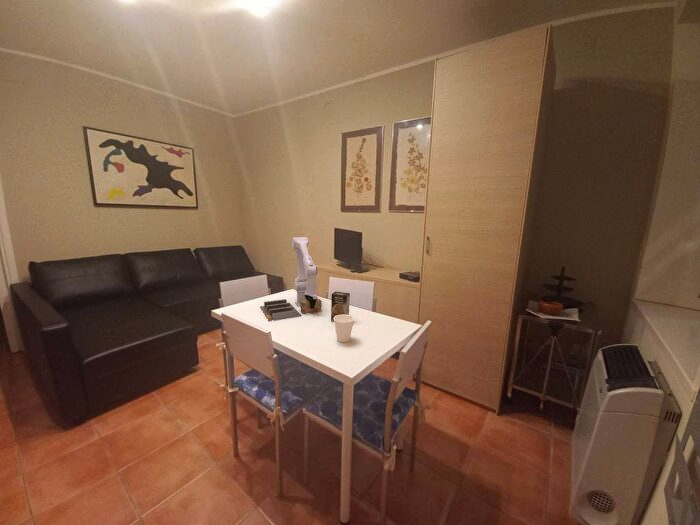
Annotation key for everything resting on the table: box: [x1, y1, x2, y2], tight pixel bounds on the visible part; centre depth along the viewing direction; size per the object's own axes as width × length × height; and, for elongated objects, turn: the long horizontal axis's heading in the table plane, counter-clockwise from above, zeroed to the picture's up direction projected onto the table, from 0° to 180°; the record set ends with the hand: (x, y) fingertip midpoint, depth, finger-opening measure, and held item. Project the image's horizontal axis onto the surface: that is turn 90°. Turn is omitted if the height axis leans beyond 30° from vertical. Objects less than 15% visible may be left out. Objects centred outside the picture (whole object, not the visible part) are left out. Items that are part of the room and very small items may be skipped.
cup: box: [333, 314, 355, 343], centre depth 133 cm, size 10×10×11 cm
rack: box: [259, 298, 303, 322], centre depth 168 cm, size 19×25×3 cm
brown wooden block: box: [300, 298, 322, 315], centre depth 169 cm, size 12×4×7 cm, turn 116°
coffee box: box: [330, 291, 351, 322], centre depth 156 cm, size 9×6×16 cm
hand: (311, 307), depth 169 cm, fingers closed on brown wooden block, 4 cm apart
